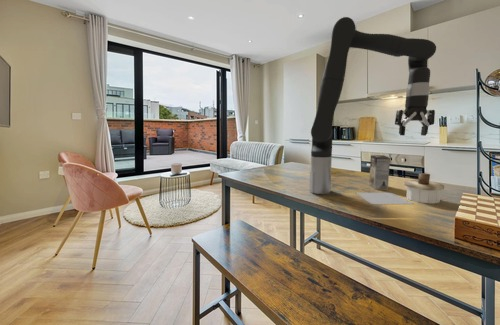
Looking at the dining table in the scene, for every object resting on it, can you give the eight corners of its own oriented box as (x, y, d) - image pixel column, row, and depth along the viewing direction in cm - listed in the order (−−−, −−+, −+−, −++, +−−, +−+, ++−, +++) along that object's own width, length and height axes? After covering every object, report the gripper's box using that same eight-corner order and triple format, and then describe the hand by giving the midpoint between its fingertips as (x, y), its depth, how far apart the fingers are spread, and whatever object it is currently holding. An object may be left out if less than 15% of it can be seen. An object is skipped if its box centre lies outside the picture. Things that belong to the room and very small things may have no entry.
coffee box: (368, 185, 121) (370, 155, 119) (381, 185, 120) (383, 155, 117) (374, 190, 112) (376, 157, 110) (388, 190, 111) (390, 157, 108)
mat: (372, 205, 91) (372, 204, 91) (355, 193, 107) (355, 192, 107) (414, 205, 90) (414, 203, 90) (391, 193, 106) (391, 192, 106)
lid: (417, 190, 89) (418, 177, 88) (397, 182, 101) (398, 171, 101) (452, 190, 88) (454, 177, 87) (428, 182, 101) (429, 170, 100)
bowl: (417, 204, 91) (418, 189, 90) (400, 196, 101) (401, 183, 101) (446, 204, 90) (448, 189, 89) (426, 196, 101) (427, 182, 100)
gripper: (404, 94, 91) (400, 135, 93) (442, 93, 90) (437, 135, 93) (393, 96, 98) (390, 135, 101) (428, 96, 97) (424, 135, 100)
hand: (412, 135), depth 97 cm, fingers open, 8 cm apart
